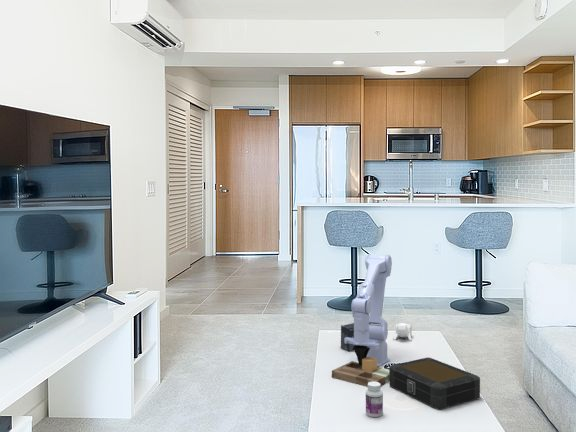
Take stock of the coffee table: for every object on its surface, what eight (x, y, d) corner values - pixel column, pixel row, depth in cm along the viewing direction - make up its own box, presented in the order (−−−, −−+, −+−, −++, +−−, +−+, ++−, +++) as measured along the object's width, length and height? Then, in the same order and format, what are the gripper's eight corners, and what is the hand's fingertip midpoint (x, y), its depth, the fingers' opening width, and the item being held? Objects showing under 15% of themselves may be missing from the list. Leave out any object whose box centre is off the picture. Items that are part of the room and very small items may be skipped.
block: (367, 366, 198) (367, 356, 198) (376, 368, 196) (376, 358, 196) (362, 369, 195) (362, 359, 195) (371, 371, 193) (371, 361, 193)
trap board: (352, 367, 205) (352, 361, 205) (395, 377, 193) (395, 371, 193) (331, 377, 195) (331, 370, 195) (376, 388, 183) (376, 381, 182)
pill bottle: (363, 410, 164) (363, 380, 164) (380, 410, 165) (380, 380, 164) (367, 418, 159) (367, 387, 159) (384, 417, 159) (384, 386, 159)
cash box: (386, 386, 185) (386, 365, 185) (428, 376, 195) (428, 356, 195) (436, 412, 163) (436, 388, 163) (482, 399, 173) (482, 376, 173)
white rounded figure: (394, 341, 251) (391, 338, 237) (395, 323, 253) (392, 319, 240) (412, 342, 248) (410, 339, 234) (413, 325, 251) (411, 320, 237)
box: (348, 352, 225) (348, 328, 224) (340, 348, 230) (340, 325, 229) (362, 348, 229) (362, 325, 229) (354, 345, 234) (354, 322, 233)
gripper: (339, 328, 199) (340, 363, 199) (372, 334, 189) (372, 371, 190) (349, 324, 204) (350, 359, 205) (382, 330, 195) (382, 366, 195)
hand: (361, 364), depth 198 cm, fingers closed
